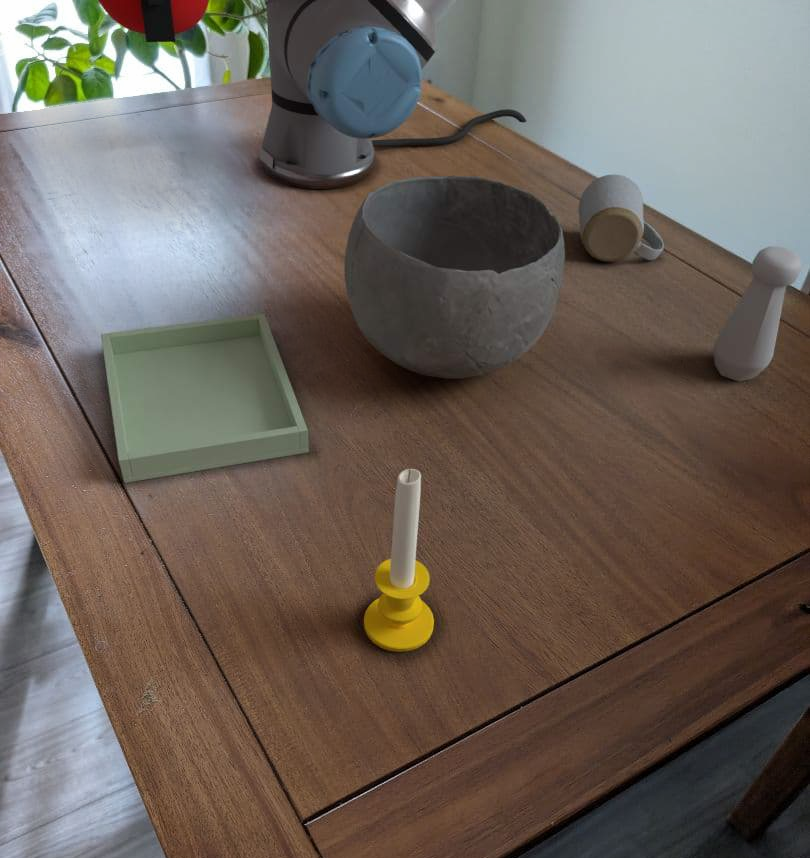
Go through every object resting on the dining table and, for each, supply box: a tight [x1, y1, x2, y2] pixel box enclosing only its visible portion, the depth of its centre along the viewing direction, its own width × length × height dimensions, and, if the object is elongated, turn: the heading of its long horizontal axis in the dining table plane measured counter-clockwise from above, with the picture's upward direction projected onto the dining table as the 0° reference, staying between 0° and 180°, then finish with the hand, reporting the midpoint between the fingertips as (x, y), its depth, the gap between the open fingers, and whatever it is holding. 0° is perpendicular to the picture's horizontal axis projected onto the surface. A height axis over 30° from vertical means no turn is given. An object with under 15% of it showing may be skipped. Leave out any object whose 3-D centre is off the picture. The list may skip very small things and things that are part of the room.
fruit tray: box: [100, 313, 310, 484], centre depth 80 cm, size 16×19×3 cm
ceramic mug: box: [578, 174, 665, 263], centre depth 102 cm, size 11×8×8 cm
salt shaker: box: [713, 246, 803, 382], centre depth 84 cm, size 6×6×13 cm
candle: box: [363, 468, 435, 653], centre depth 58 cm, size 5×5×16 cm
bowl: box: [343, 175, 566, 380], centre depth 83 cm, size 20×20×15 cm
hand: (155, 20), depth 86 cm, fingers closed on tomato, 12 cm apart
